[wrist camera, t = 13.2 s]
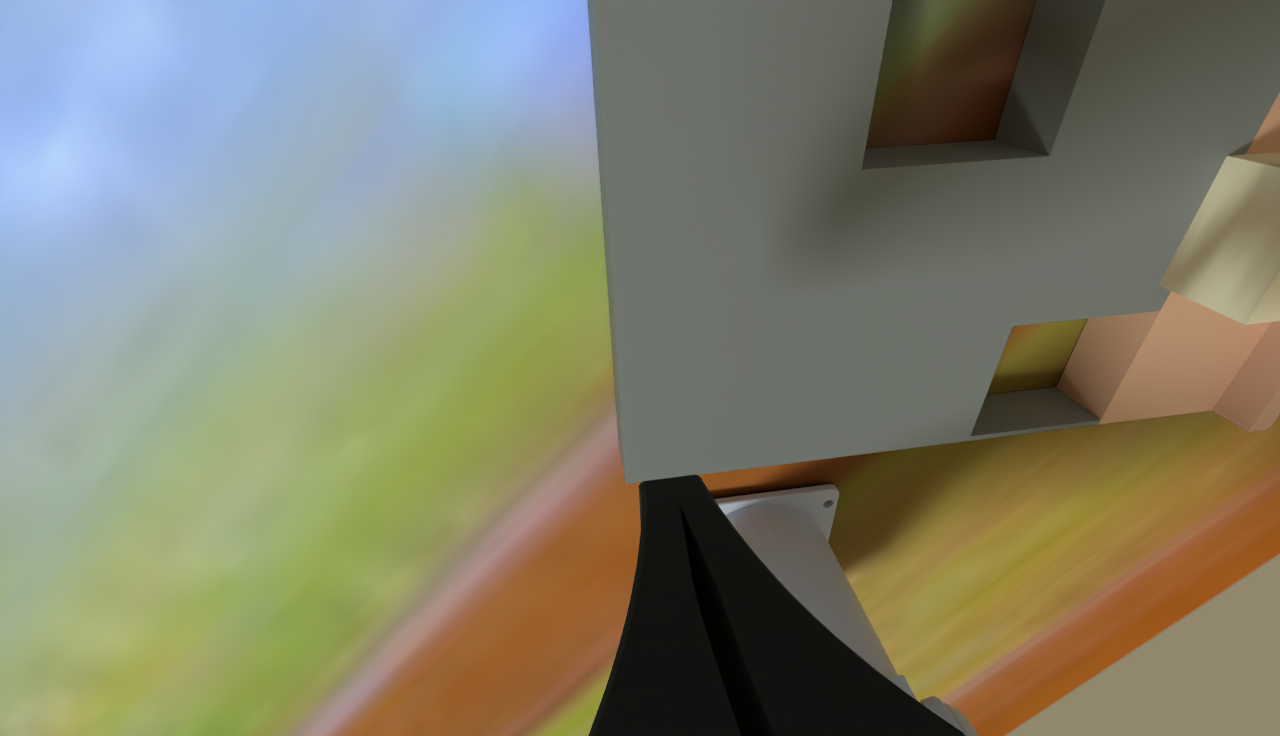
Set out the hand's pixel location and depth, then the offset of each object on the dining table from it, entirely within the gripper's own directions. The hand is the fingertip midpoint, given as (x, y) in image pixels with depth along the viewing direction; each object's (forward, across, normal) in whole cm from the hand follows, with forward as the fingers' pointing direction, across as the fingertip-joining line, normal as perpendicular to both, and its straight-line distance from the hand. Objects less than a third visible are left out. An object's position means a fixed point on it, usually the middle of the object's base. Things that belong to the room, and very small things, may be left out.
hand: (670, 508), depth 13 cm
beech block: (+7, -22, -3) cm, 23 cm away
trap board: (+9, -13, -2) cm, 16 cm away
